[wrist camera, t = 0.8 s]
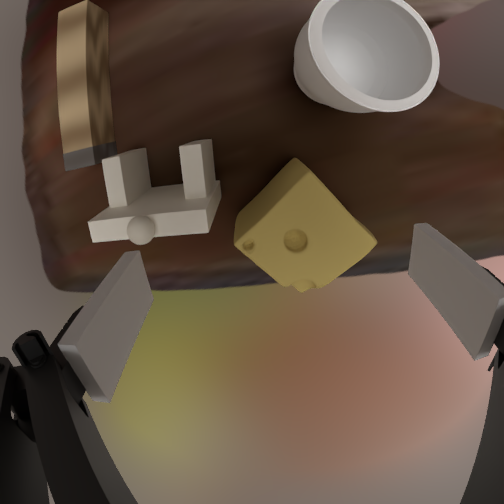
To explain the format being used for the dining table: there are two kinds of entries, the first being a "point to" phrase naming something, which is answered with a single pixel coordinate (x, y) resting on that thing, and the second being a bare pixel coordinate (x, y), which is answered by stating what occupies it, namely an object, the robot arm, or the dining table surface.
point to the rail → (84, 86)
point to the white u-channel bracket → (157, 197)
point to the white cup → (366, 56)
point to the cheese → (300, 231)
